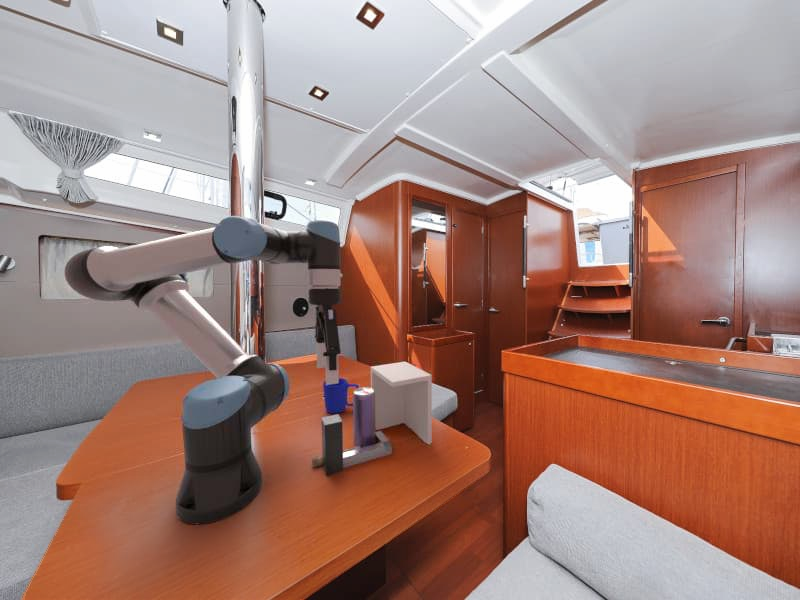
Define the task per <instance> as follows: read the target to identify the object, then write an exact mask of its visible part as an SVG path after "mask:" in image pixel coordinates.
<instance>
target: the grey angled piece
mask: <svg viewBox="0 0 800 600" xmlns="http://www.w3.org/2000/svg"><path fill="white" fill-rule="evenodd" d="M321 440H322V441H321V445H322V447H321V448H322V449H321V451H322V452H321V453H322V455H321V456H323V465H322V468H323V471H324V474H325V477H327V476H331V475H334V474H337V473H341V472H344V469H345V468H348V467H351V466H355V465H358V464H361V463H365V462H368V461H372V460H376V459H379V458H382V457H386V456H389V455H392V454H393V444H392V442H390V440H389V438H388V437H386V435H385V434H384V433H383V432H382V430H377V431H376V442H375V444H374V445H370V446H367V447H363V448H359V449H356V450H352V451H348V452H344V453H343V450H344V442H343V441H344V440H343V420H342V418H341V416H340V415H339V413H336V414H333V415H327V416H323V417H321Z"/></svg>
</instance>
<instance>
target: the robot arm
mask: <svg viewBox="0 0 800 600" xmlns="http://www.w3.org/2000/svg"><path fill="white" fill-rule="evenodd" d="M340 240H341V238H340V227H339V225H338V224H337V223H336V222H334V221H330V220H322V219H321V220H320V219H318V220H310V221H307V224H306V229H305V230H301V231H286V230H285V231H284V230H282V229H278V228H275V227H273V226H269V225H266V224H263V223H260V222H258V221H256V220H254V219H251V218H247V217H242V216H238V215H230V216H229V215H228V216H226V217H224V218H222V219H221V220H220V221H219V222H218V223H217V224H216V226H215V227H210V228H207V229H201V230H198V231H193V232H189V233H183V234H179V235H175V236H170V237H165V238H161V239H156V240H151V241H146V242H143V243H137V244H133V245H129V246H128V245H127V246H123V247H120V248H119V247H116V246H111V245H110V246H109V245H104V246H100V247H99V246H98V247H94V248H90V249H85V250H82V251H81V252H78V253H76V254H75V255H73V256H71V258H70V259H69V260H68V261H67V262H66V264H65V267H64V278H65V281H66V283H67V285H69V287H70V288H71V289H72V290H73V291H75V292H76V293H77V294H79V295H81V296H83V297H85V298H89V299H92V300H95V301H103V302H112V301H113V302H114V301H115V302H116V301H117V302H118V301H131V302H132V303H133V304H134V305H135V306H136V307H137V308H138V309H139V310H141V312H143V313H145V314H146V313H147V314H154V315H155V316H156V317H157V318H158V319H159V320H160V321H161V322H162V323H163V324H164V325H165V326H166V327H167V328H168V329H169V330H170V332H172V334H173V335H174V336H175V337H176V338H177V339H178V340H179V341H181V343H182V344H184V346H185V347H186V348H187V349H188V350H189V351H190V352H191V353H192V354H194V356H195V357H196V358H197V359H198V360H199V362H201V363H202V364H203V366H205V367H206V368H207V370H208V371H210V372H211V373H212V374H213V376H214V377H215V379H209V380H206V381H204V382H202V383H200V384H198V385H196V386H195V387H193V388H192V389H190V390H189V391H188V392H187V393H186V395H184V397H183V401H182V412H181V417H180V419H181V424H182V437H183V451H184V452H183V453H184V461H185V462H184V463H185V464H184V468H185V469H184V473H183V475H182V478H181V482H180V485H179V488H178V492H177V494H176V498H175V514H176V516H178V517H179V518H178V517H177V518H178V519H179V520H180V519H181V520H182V521H181V520H180V521H181V522H183V521H184V522H183V523H185V522H187V523H186V524H189V523H193V525H203V524H209V523H212V522H216V521H219V520H222V519H225V518H227V517H229V516H231V515H233V514H235V513H238V512H239V511H240V510H242V509H243V508H245V507H246V506H247V505H249V504H250V502H252V501H253V500H254V499H255V498H256V497H257V495H258V494H259V492H260V491H261V488H262V485H263V484H262V483H263V479H262V478H263V475H262V469H261V467H260V465H259V462H258V461H257V459H256V456H255V453H254V452H253V450H252V429H253V427H255V426H256V425H257V424H258V423H260V422H261V421H262V420H263V419H265V418H266V417H267V416H268V415H269V414H270V413H272V412H274V411H276V410H277V409H278V408H279V407H280V406H281V405H282V403H283V402H285V400H286V399H287V398H288V395H289V394H290V393H289V391H290V384H291V383H290V382H291V381H290V377H289V375H288V373H287V371H286V369H284V367H282V366H281V365H279V364H277V363H272V362H266V361H264V359H262V357H260V356H259V355H258V354H249V353H247V352H246V351H245V350H244V349H243V347H242V346H241V345H240V344H238V342H237V341H236V340H235V339H234V338H233V337H231V335H230V334H229V333H228V332H227V331H226V330H225V329H224V328H223V327H222V326H221V325H220V324H219V323H218V322H217V321H216V320H215V319H214V318H213V317H212V316H211V315H210V314H209V313H208V312H207V311H206V310H205V309H204V308H203V307H202V306H201V304H199V303H198V302H197V301H196V300H195V299H194V298H193V297H192V295H190V294H189V290H190V286H189V284H188V281H189V280H188V278H187V277H186V276H187V275H188V274H189V273H193V272H197V271H202V270H207V269H211V268H216V267H217V268H218V267H222V266H226V265H232V264H237V263H243V262H248V261H261V263H264V264H271V265H272V264H273V265H280V264H300V263H301V264H307V286H308V287H310V288H309V290H308V303H309V304H310V305H314V306H316V307H315V327H314V329H315V331H314V332H315V334H314V338H315V342H316V345H315V346H316V350H315V351H316V368H317V369H321V368H325V381H326V385H330V384H337V383H339V378H340V377H339V376H340V375H339V355H340V354H341V352H342V351H341V345H340V337H339V328H338V321H337V320H338V317H337V314H338V311H337V309H334V307H333V305H339V304H341V303H342V290H341V288H339V287H340V286H341V285H342V284H341V278H344V277H343V274H342V273H341V243H342V242H341V241H340ZM197 523H198V524H197ZM201 523H202V524H201Z"/></svg>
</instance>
